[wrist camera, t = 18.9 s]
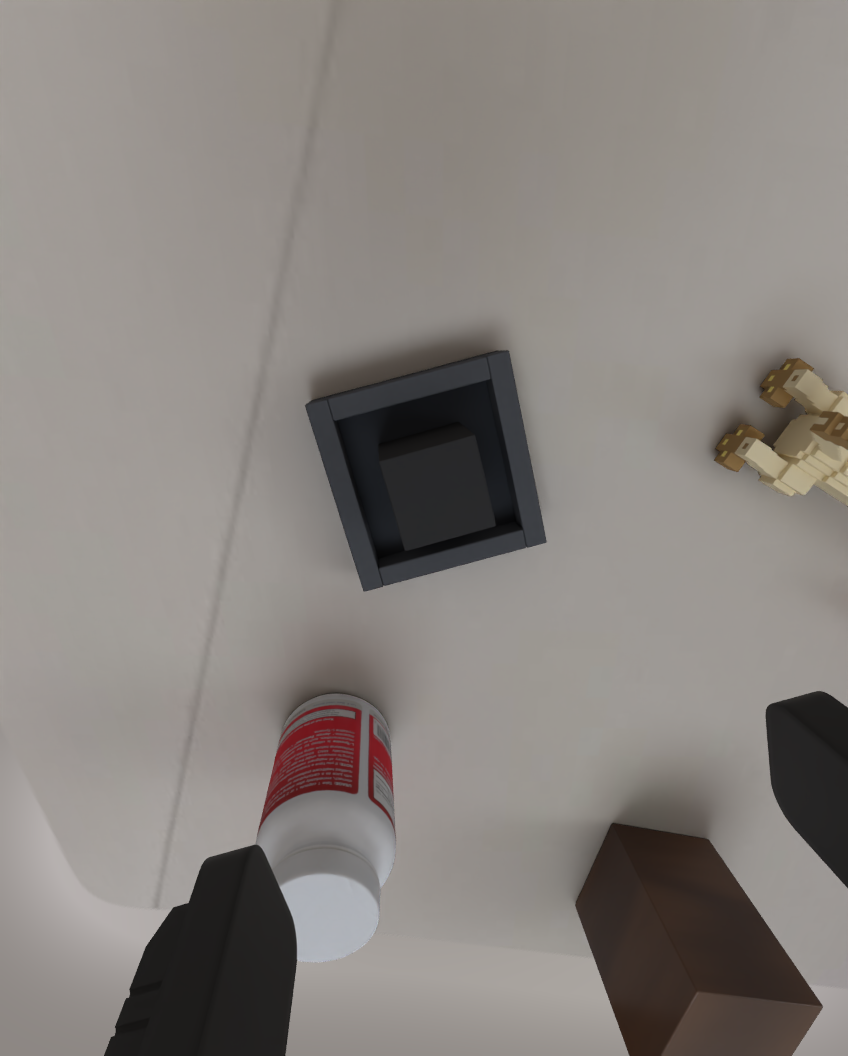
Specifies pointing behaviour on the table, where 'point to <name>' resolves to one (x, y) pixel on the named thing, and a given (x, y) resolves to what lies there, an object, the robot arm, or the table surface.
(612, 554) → the table surface
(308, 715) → the pill bottle
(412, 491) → the black block
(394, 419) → the dark open tray
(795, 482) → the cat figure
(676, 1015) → the riser
